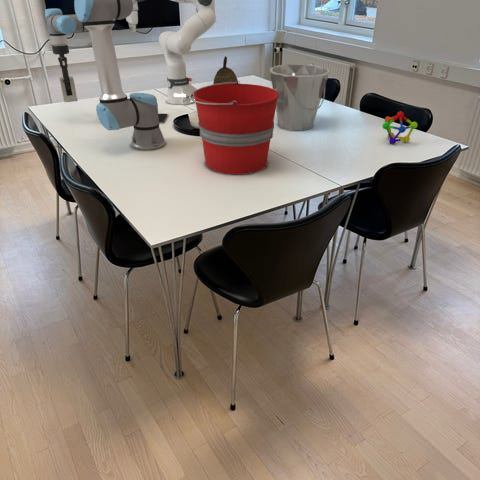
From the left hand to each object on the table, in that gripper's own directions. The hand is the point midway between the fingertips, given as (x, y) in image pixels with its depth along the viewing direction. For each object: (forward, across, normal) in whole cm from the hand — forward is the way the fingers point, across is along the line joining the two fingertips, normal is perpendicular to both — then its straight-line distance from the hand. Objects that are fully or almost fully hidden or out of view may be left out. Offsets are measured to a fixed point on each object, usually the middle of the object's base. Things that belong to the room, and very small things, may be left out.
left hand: (69, 94), depth 226 cm
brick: (+3, 0, 0) cm, 3 cm away
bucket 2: (+16, +44, +108) cm, 118 cm away
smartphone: (+15, +8, +43) cm, 47 cm away
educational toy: (+16, +86, +139) cm, 165 cm away
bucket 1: (+16, +81, +59) cm, 101 cm away
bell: (+15, -22, +94) cm, 98 cm away
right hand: (-21, -62, +46) cm, 80 cm away
